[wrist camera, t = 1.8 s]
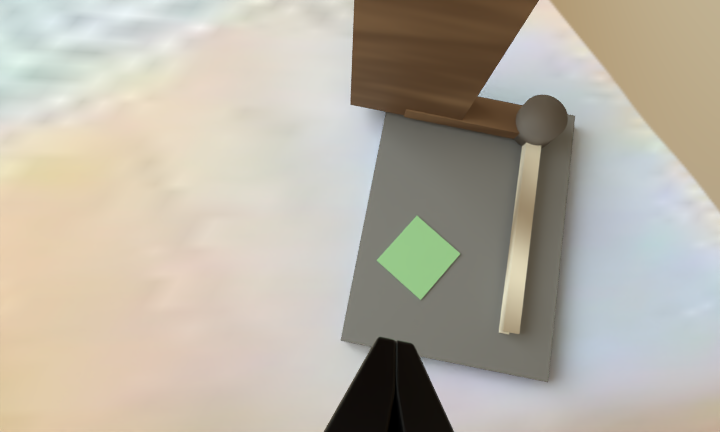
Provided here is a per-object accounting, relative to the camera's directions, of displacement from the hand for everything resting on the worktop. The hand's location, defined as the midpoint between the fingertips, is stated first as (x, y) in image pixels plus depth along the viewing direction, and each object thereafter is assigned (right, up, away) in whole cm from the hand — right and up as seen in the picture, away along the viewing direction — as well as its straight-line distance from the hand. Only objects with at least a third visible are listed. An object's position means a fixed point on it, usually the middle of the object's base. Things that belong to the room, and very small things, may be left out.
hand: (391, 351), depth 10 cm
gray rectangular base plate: (+5, +3, +15) cm, 16 cm away
